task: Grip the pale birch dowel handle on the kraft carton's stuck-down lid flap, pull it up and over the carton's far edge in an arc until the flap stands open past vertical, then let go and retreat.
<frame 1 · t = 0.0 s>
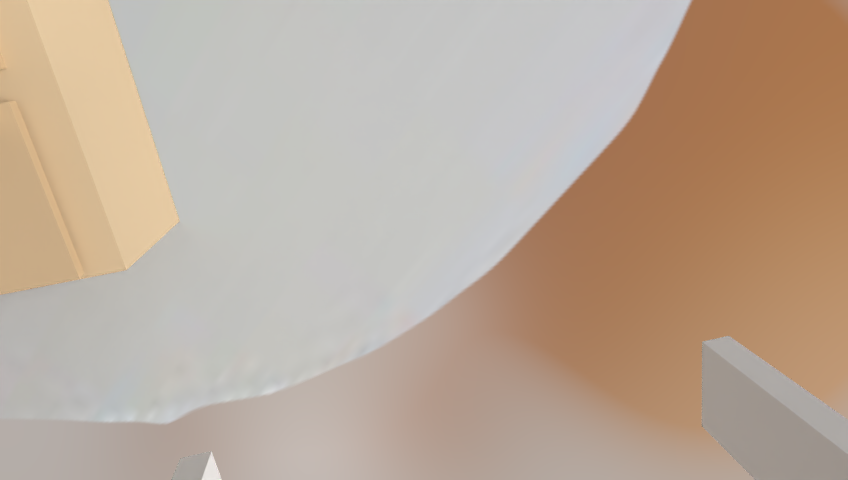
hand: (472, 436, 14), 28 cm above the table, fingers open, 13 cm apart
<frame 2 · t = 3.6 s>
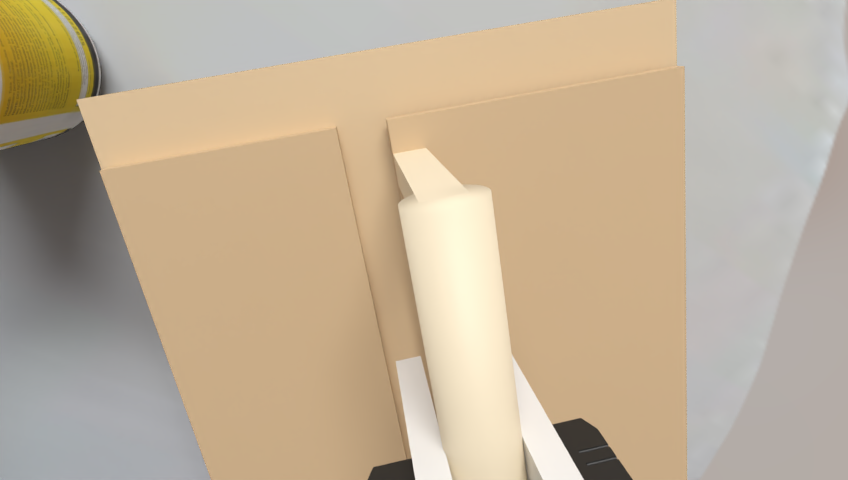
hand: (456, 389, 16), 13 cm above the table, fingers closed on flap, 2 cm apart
pill bottle: (29, 64, 24), on the table
flap: (594, 381, 16), point 14 cm above the table, hinge at 0.0°, touching gripper
carton: (409, 251, 29), on the table
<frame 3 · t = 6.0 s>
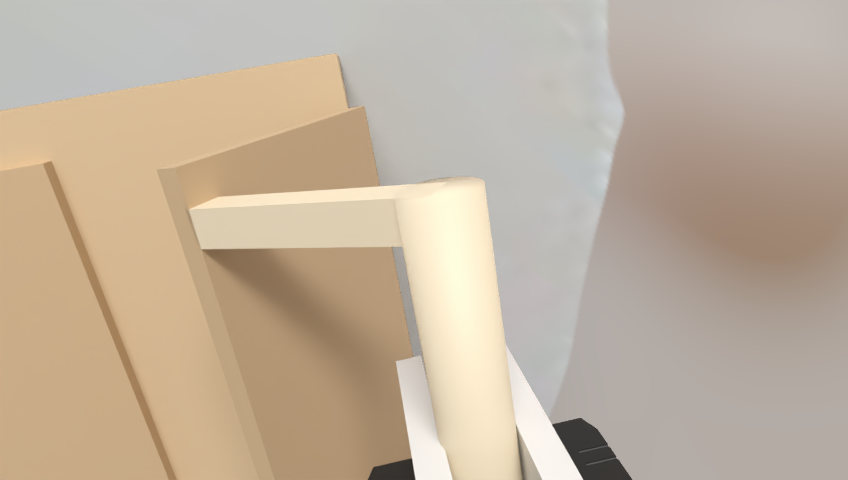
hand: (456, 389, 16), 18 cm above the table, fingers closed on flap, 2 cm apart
flap: (430, 369, 17), point 16 cm above the table, hinge at 59.8°, touching gripper
carton: (224, 258, 32), on the table
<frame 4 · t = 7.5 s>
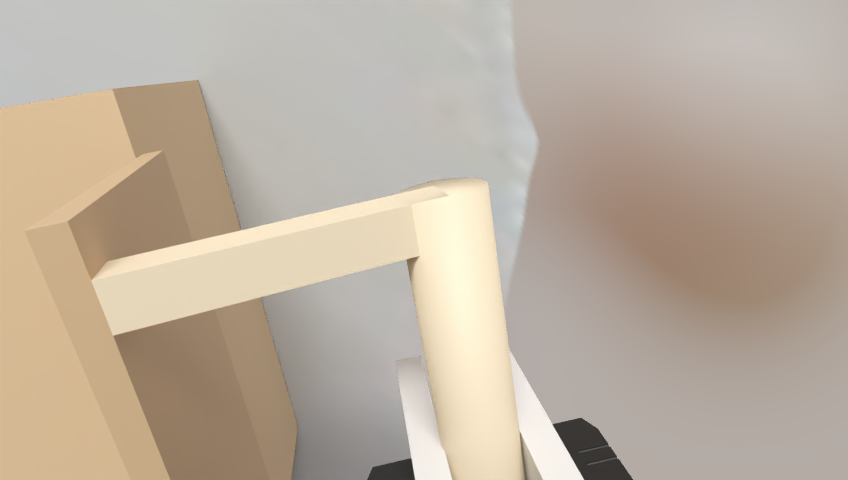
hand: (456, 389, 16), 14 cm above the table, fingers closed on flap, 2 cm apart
flap: (341, 420, 16), point 14 cm above the table, hinge at 98.7°, touching gripper
carton: (80, 308, 28), on the table
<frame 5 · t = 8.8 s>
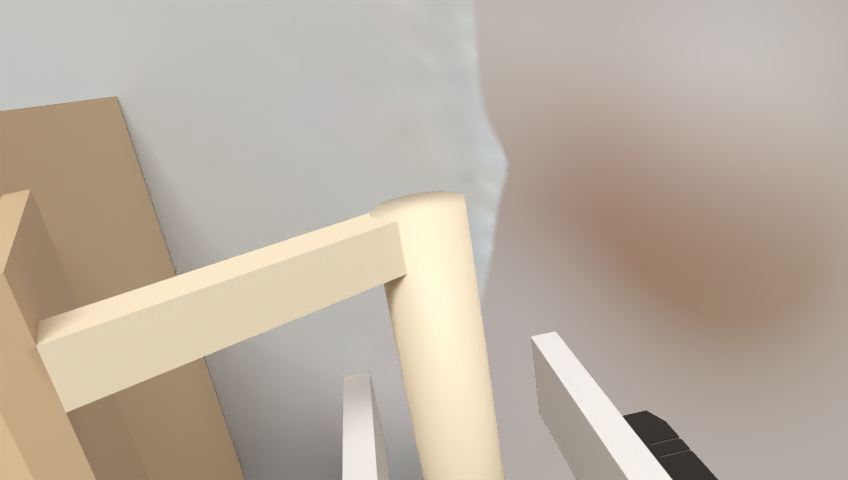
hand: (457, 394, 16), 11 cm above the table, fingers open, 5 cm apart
flap: (288, 472, 14), point 13 cm above the table, hinge at 115.6°, touching gripper
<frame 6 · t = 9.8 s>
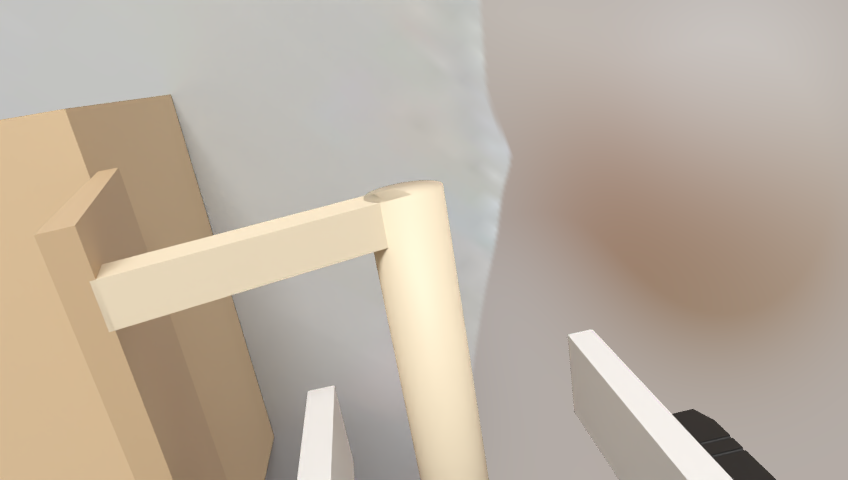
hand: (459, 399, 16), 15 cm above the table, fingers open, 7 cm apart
flap: (308, 415, 17), point 14 cm above the table, hinge at 108.0°
carton: (56, 317, 29), on the table
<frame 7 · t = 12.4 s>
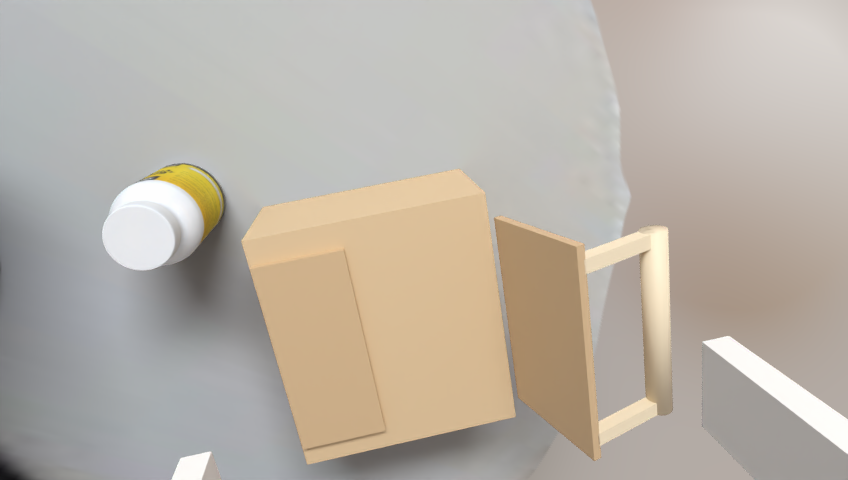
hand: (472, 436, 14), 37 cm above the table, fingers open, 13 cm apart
pill bottle: (188, 198, 47), on the table
flap: (585, 318, 40), point 14 cm above the table, hinge at 108.0°
carton: (383, 288, 52), on the table
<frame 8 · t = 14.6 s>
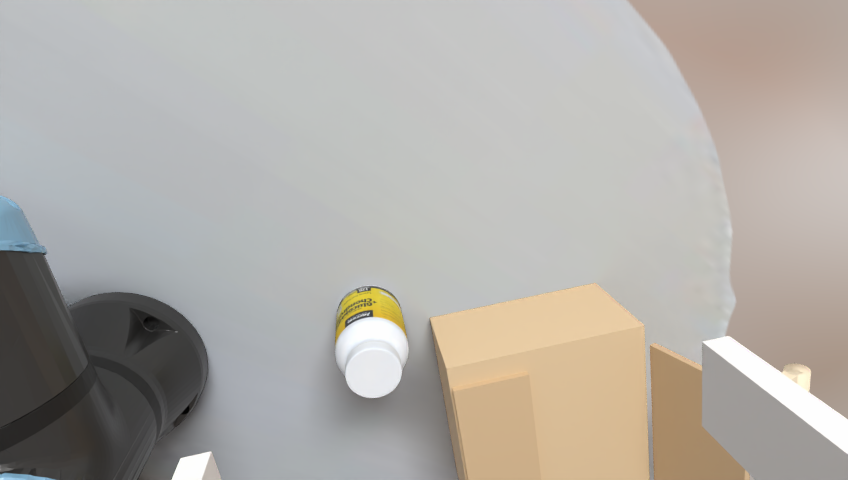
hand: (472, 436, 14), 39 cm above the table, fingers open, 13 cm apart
pill bottle: (368, 311, 55), on the table
flap: (726, 429, 48), point 14 cm above the table, hinge at 108.0°
carton: (523, 381, 60), on the table
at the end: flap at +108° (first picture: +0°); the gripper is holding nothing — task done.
